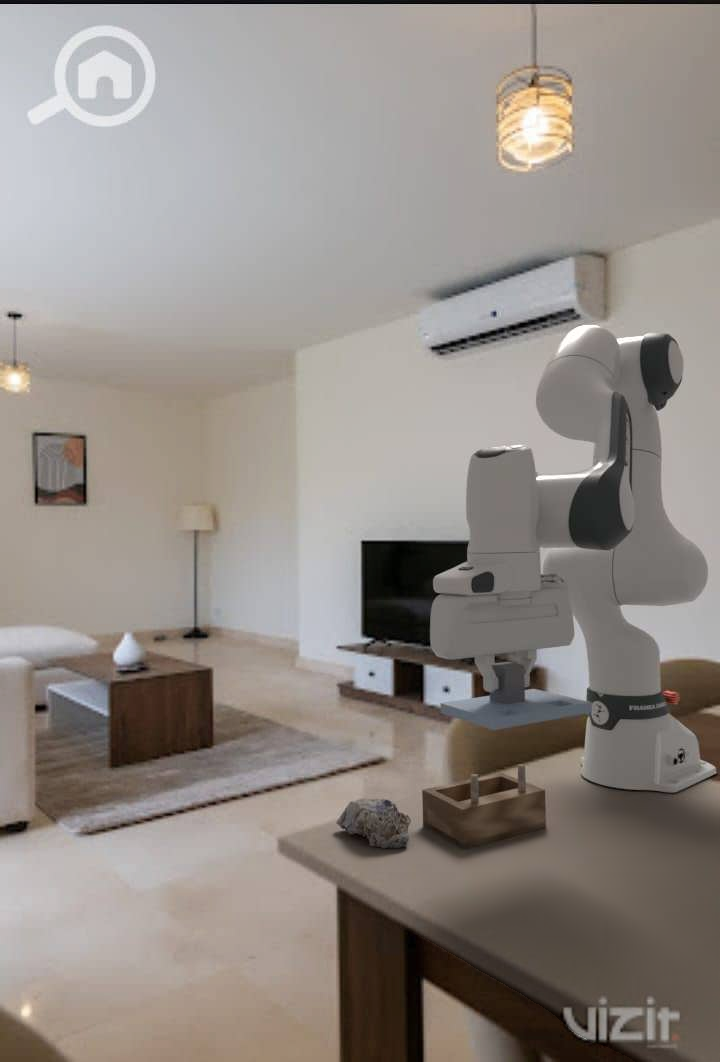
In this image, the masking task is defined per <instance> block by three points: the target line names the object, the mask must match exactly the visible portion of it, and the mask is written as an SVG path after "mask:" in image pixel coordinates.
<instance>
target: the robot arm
mask: <svg viewBox="0 0 720 1062" xmlns="http://www.w3.org/2000/svg"><path fill="white" fill-rule="evenodd" d="M683 373H684V357H683V354H682V351H681V349H680V347H679V344H678V342H677V340H676V339H675V338H674V337H673V336H672V335H671V334H669V333H663V332H650V333H649V332H648V333H645V334H644V335H639V336H638V335H637V336H628V337H623V338H621V337H620V338H617V337H616V336H615V335H614V334H613V333H612V332H611V331H610V330H608V329H607V328H605V327H602V326H599V325H596V324H595V325H594V324H590V325H589V324H587V325H582V326H578V327H575V328H574V329H572V330H571V331H569V332H568V333H567V334H566V335H565V336H564V337H563V338H562V340H561V341H560V342H559V344H558V345H557V347H555V349H554V351H553V352H552V355H550V358H549V360H548V362H547V364H546V366H545V368H544V371H543V373H542V375H541V378H540V379H539V382H538V386H537V389H536V395H535V406H536V409H537V413H538V415H539V417H540V419H541V421H542V422H543V423H544V424H545V425H546V426H547V427H548V428H549V429H550V430H552V432H554V433H556V434H557V435H559V436H561V437H562V438H563V437H564V438H566V439H569V440H573V441H574V440H575V441H584V442H590V443H593V444H594V446H593V454H592V455H593V459H592V466H591V467H590V468H587V469H584V470H580V471H575V472H565V473H563V472H562V473H553V474H552V473H550V474H539V473H538V472H537V471H536V464H535V458H534V452H533V450H532V448H531V446H530V447H529V446H528V445H526V444H508V445H507V444H506V445H498V446H495V447H494V446H493V447H492V446H491V447H485V448H480V449H479V450H477V451H476V452H475V453H472V455H471V457H470V459H469V464H468V470H467V478H466V492H465V494H466V495H465V513H466V515H465V516H466V521H467V524H468V525H467V526H468V528H469V539H468V541H469V542H468V544H467V549H466V551H467V552H466V555H467V556H466V558H467V560H466V561H465V562H462V563H461V564H459V565H456V566H455V567H452V568H450V569H447V570H445V571H443V572H441V573H439V574H436V575H435V576H434V577H433V579H432V587H433V590H434V592H435V593H438V594H439V595H437V596H436V597H435V598H434V599H433V602H432V605H431V609H430V619H429V620H430V623H429V624H430V625H429V641H430V648H431V651H433V653H434V655H435V656H436V657H438V658H441V659H445V660H453V661H454V660H460V659H462V660H463V659H467V658H468V659H469V658H470V659H471V658H474V664H475V665H476V667H477V669H478V671H479V673H480V674H481V676H482V687H483V690H484V691H485V692H488V693H490V692H496V691H500V690H501V689H502V685H501V683H502V677H500V676H496V675H495V673H494V670H493V668H492V666H491V664H494V663H496V662H495V660H496V658H495V655H500V654H509V653H516V656H517V658H519V661H518V663H517V664H522V665H524V682H525V688H528V687H530V685H531V677H530V673H531V672H532V670H533V667H534V665H535V663H536V661H537V653H538V652H537V651H538V650H540V649H541V650H542V649H551V648H559V647H568V646H570V645H571V644H572V643H573V640H574V638H575V623H574V619H575V620H576V622H577V623H578V625H579V628H580V630H581V632H582V634H583V638H584V642H585V648H586V654H587V655H586V656H587V665H588V666H587V667H588V668H587V669H588V687H587V688H586V697H585V701H588V702H592V712H591V713H588V717H587V719H586V725H585V737H584V751H583V756H581V757H580V765H581V769H580V774H581V776H582V777H583V778H585V779H586V780H588V781H590V782H593V783H595V784H598V785H602V786H605V787H610V788H616V789H624V790H637V791H642V790H643V791H655V792H663V793H677V792H680V791H682V790H684V789H686V788H688V787H690V786H692V785H695V784H697V783H699V782H701V781H703V780H705V779H707V778H710V777H711V776H713V775H716V774H717V767H715V765H714V764H711V763H709V762H707V761H705V760H702V759H701V756H700V755H701V753H700V747H699V741H698V739H697V736H696V735H695V734H694V732H692V731H691V730H690V729H689V728H687V727H686V726H685V725H684V724H683V723H681V722H680V721H679V720H678V719H677V718H676V717H674V716H673V715H672V714H670V708H669V705H668V703H669V704H672V705H678V704H679V702H680V699H681V697H680V694H679V692H676V691H670V690H665V691H664V692H663V691H662V690H661V656H660V655H661V654H660V647H659V644H658V643H657V640H655V638H654V637H653V636H651V635H650V634H649V633H648V632H647V631H645V630H644V629H641V628H640V627H637V626H635V625H633V624H631V623H629V622H628V620H626V618H625V616H624V615H623V612H622V608H621V606H650V607H651V606H652V607H655V606H657V607H666V606H673V605H680V604H685V603H691V602H694V601H695V600H696V599H698V597H700V595H701V594H702V592H703V591H704V590H705V587H706V586H707V582H708V578H709V569H708V562H707V560H706V558H705V555H704V553H703V552H702V550H701V549H700V548H699V546H697V544H695V543H694V542H693V541H691V540H689V539H688V538H686V537H685V536H684V535H682V533H680V531H679V530H678V529H676V527H675V526H674V524H672V522H671V521H670V519H669V517H668V515H667V512H666V510H665V506H664V503H663V502H664V501H663V492H662V455H663V454H662V435H661V428H660V422H659V421H660V420H659V416H658V413H657V411H661V410H663V409H664V408H665V407H666V405H667V403H668V401H669V400H670V399H671V398H672V397H673V396H674V395H675V394H676V392H677V391H678V389H679V387H680V386H681V384H682V380H683V375H684V374H683ZM541 548H542V549H549V551H548V553H547V554H546V555H545V556H546V557H545V559H544V561H543V565H542V573H541Z"/></svg>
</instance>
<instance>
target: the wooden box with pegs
mask: <svg viewBox="0 0 720 1062" xmlns="http://www.w3.org/2000/svg"><path fill="white" fill-rule="evenodd" d="M421 790H422V791H421V793H422V794H421V795H422V827H423V826H424V827H423V828H425V827H426V828H425V829H427V830H428V829H429V831H430V830H431V832H432V833H433V834H436V835H437V836H439V837H440V838H442V839H444V840H446V841H448V842H450V843H451V844H453V845H455V846H456V847H458V848H460V849H462V850H465V849H469V848H474V847H477V846H481V845H484V844H488V843H491V842H496V841H499V840H502V839H506V838H510V837H514V836H518V835H522V834H525V833H528V832H533V831H536V830H540V829H543V828H546V827H547V818H546V817H547V812H546V811H547V809H546V808H547V806H546V789H544V788H541V787H539V786H537V785H534V784H532V783H529V782H527V781H526V764H523V763H520V764H517V777H514V776H511V775H509V774H507V773H505V772H504V773H503V772H499V773H494V774H489V775H485V776H480V777H479V774H477V773H471V774H470V779H467V780H461V781H457V782H452V783H448V784H442V785H439V786H433V787H428V788H424V789H421Z"/></svg>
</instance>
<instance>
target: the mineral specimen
mask: <svg viewBox="0 0 720 1062" xmlns="http://www.w3.org/2000/svg"><path fill="white" fill-rule="evenodd" d="M411 822H412V819H411V818H410V816H409V815H408V814H404V813H403V812H400V811H399V810H398V806H397V805H396V803H395V802H393V801H392V800H390V799H386V798H385V799H384V798H383V799H382V798H370V797H362V798H359V799H356V800H350V802H348V804H347V806H346V807H345V808H344V811H343V812H342V813H341V815H340V816H339V818H338V819H337V821H336V822H335V823H336V824H337V825H338V826H339V827H340V828H341V829H342V830H344V832H345V833H348V834H350V835H354V834H359V835H362V836H363V838H365V837H366V838H367V839H368V841H369V846H370V847H377V848H382V849H383V850H384V849H387V848H396V849H399V848H402V847H408V842H409V835H408V834H409V826H410V824H411Z"/></svg>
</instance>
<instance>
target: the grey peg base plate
mask: <svg viewBox="0 0 720 1062" xmlns="http://www.w3.org/2000/svg"><path fill="white" fill-rule="evenodd" d="M491 666H492V668H493V670H494V673H495V675H496V676H500V677H502V683H501V685H502V689H501V690H500V691H496V692H489V695H486V696H485V695H484V696H479V697H472V698H471V697H470V698H465V699H457V700H453V701H446V702H440V714H443V715H446V716H447V717H448V716H449V717H453V718H455V719H459V720H462V721H464V722H467V723H470V724H474V725H476V726H478V727H479V726H480V727H483V728H486V729H488V730H491V731H498V730H503V729H508V728H514V727H520V726H525V725H531V724H535V723H541V722H548V721H552V720H553V721H554V720H557V719H563V718H569V717H574V716H579V715H586V714H589V713H591V712H592V702H588V701H587V700H583V699H579V698H575V697H570V696H566V695H563V694H557V693H554V692H550V691H544V690H541V689H536V688H530V689H525V688H526V687H525V682H524V665H522V664H518V663H515V662H510V661H503V662H497V663H496V662H495V663H494V664H491Z"/></svg>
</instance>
